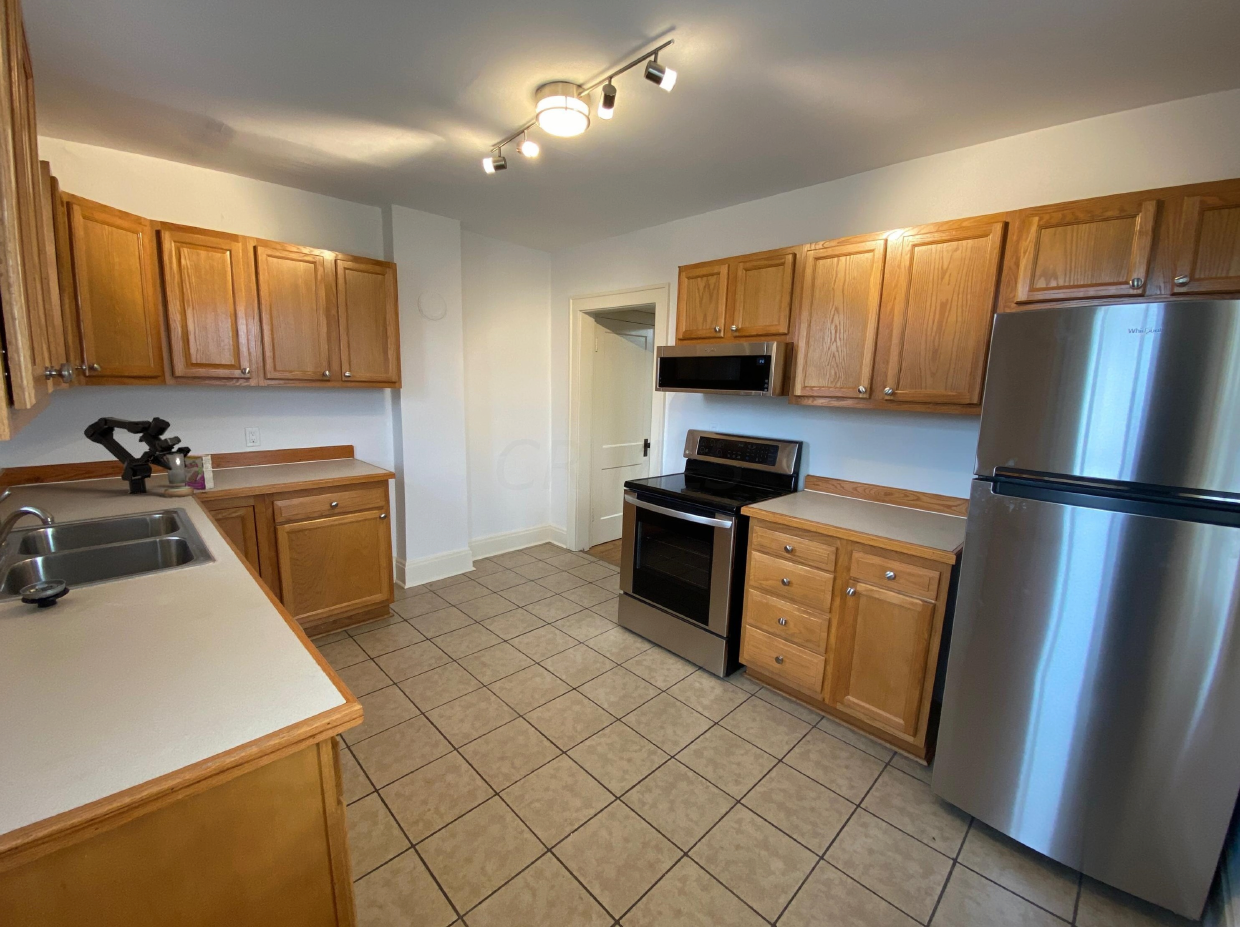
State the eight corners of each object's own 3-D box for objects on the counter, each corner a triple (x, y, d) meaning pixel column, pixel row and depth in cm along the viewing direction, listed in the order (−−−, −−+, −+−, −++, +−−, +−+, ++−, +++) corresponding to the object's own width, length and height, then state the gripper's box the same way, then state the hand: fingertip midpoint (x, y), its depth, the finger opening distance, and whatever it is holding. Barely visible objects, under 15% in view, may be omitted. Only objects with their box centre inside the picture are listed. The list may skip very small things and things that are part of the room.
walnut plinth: (166, 494, 230) (165, 487, 229) (195, 492, 236) (194, 485, 235) (163, 498, 222) (162, 491, 221) (192, 496, 228) (191, 489, 227)
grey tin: (165, 483, 226) (162, 454, 224) (181, 480, 232) (178, 453, 229) (173, 484, 224) (170, 455, 222) (189, 482, 229) (186, 454, 227)
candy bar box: (184, 488, 242) (180, 455, 239) (194, 486, 246) (190, 453, 244) (205, 489, 241) (201, 456, 238) (215, 487, 245) (211, 454, 243)
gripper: (141, 432, 215) (165, 459, 215) (185, 429, 234) (208, 453, 233) (128, 450, 218) (152, 476, 218) (173, 445, 236) (195, 469, 236)
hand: (178, 468), depth 226 cm, fingers closed on grey tin, 6 cm apart
